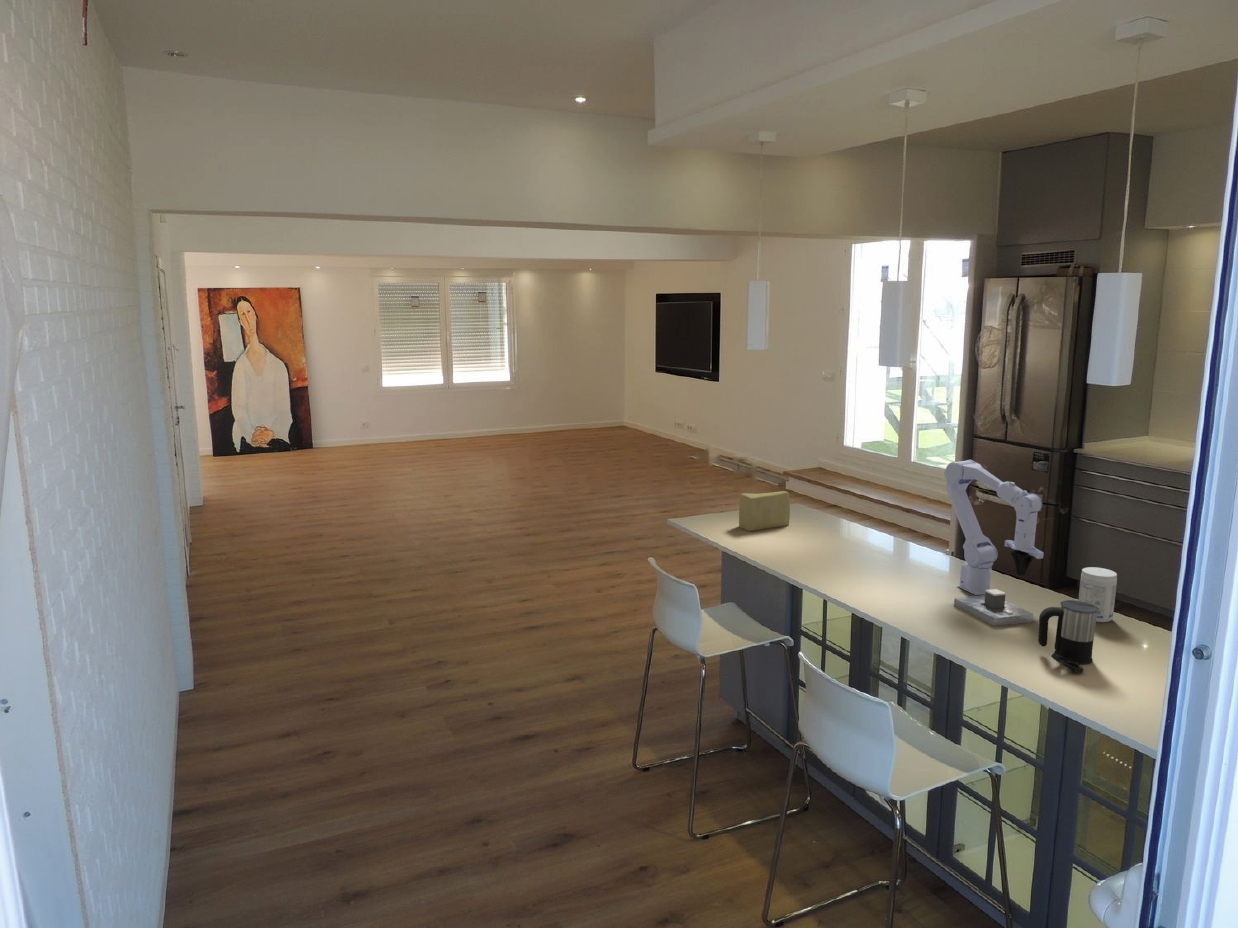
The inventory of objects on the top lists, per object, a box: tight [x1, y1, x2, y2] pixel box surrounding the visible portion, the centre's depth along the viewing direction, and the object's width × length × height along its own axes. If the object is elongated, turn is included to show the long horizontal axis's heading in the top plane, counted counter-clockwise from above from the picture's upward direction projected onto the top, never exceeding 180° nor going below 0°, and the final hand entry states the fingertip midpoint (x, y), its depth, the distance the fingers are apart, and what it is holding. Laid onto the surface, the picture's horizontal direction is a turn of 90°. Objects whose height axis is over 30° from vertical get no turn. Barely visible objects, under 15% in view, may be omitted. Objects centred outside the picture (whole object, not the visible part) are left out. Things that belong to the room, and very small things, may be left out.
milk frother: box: [1037, 599, 1099, 673], centre depth 221 cm, size 14×16×15 cm
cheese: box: [738, 490, 791, 532], centre depth 357 cm, size 22×10×15 cm, turn 110°
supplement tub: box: [1077, 566, 1118, 623], centre depth 254 cm, size 10×10×15 cm
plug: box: [984, 588, 1006, 610], centre depth 258 cm, size 4×4×6 cm
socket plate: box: [953, 594, 1034, 627], centre depth 258 cm, size 18×14×3 cm
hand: (1021, 574), depth 265 cm, fingers closed
